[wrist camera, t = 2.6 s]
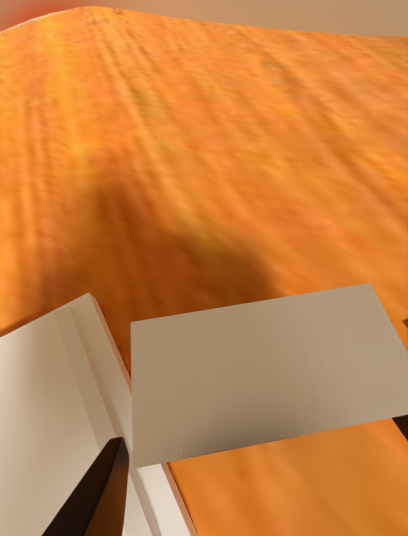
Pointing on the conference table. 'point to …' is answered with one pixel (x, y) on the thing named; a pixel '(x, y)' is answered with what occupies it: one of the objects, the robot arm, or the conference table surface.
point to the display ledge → (71, 424)
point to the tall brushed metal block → (263, 373)
